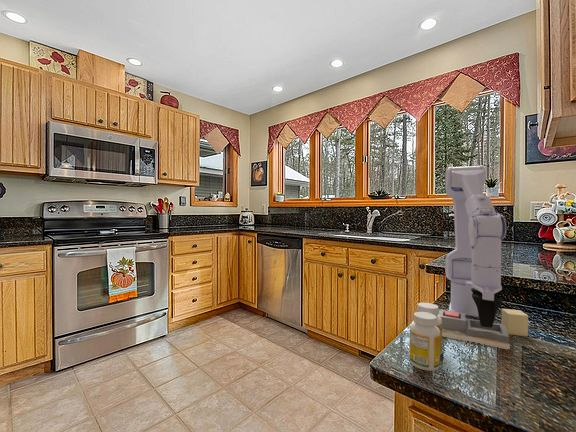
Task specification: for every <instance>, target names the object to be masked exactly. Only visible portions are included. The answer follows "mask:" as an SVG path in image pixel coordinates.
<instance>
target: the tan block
mask: <svg viewBox="0 0 576 432" xmlns="http://www.w3.org/2000/svg"><path fill="white" fill-rule="evenodd" d="M501 324H504V325H505V328H506V330H507V333H508V335H514V336H522V337H528V336H529V315H528V314H526V313H525V312H523V311H522V310H520V309H509V308H501Z"/></svg>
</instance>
